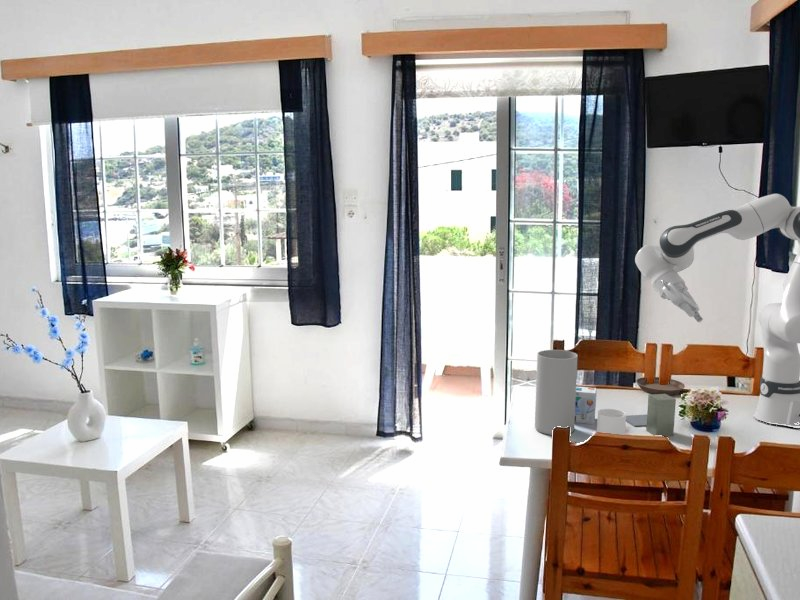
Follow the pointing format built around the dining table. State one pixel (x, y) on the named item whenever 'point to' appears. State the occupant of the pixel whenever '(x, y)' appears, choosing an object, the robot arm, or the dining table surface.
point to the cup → (611, 421)
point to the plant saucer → (660, 386)
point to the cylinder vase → (555, 390)
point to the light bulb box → (585, 405)
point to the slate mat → (637, 420)
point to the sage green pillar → (661, 414)
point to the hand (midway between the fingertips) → (696, 318)
